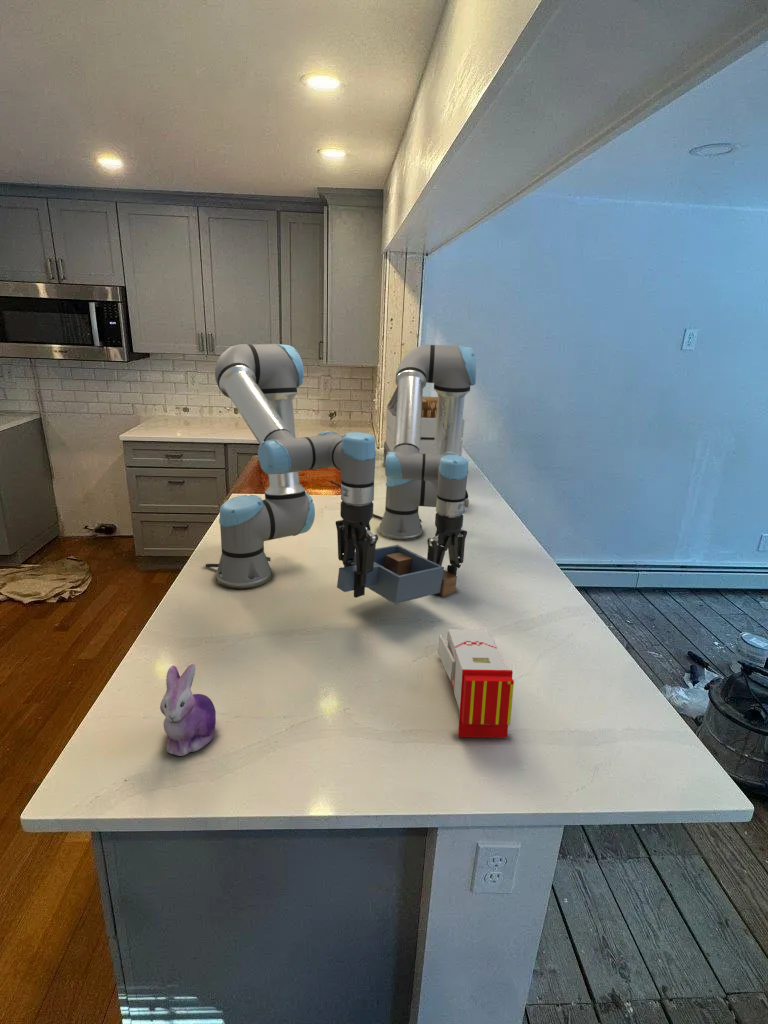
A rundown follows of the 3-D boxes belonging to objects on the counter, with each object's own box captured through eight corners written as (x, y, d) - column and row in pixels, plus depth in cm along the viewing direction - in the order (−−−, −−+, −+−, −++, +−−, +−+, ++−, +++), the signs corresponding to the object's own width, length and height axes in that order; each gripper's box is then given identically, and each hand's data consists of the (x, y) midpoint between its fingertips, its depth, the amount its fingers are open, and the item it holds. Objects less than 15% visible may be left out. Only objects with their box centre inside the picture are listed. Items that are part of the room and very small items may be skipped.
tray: (318, 583, 141) (321, 557, 139) (394, 568, 158) (397, 544, 156) (362, 612, 129) (366, 584, 127) (439, 592, 145) (444, 567, 144)
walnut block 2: (430, 590, 161) (431, 574, 159) (442, 585, 164) (444, 569, 162) (443, 596, 157) (444, 580, 156) (455, 591, 161) (456, 576, 159)
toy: (488, 613, 130) (523, 677, 101) (484, 667, 133) (517, 744, 104) (435, 612, 130) (455, 676, 101) (432, 666, 133) (451, 743, 103)
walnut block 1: (383, 572, 152) (385, 554, 150) (396, 569, 155) (399, 552, 154) (396, 579, 148) (398, 561, 147) (409, 575, 152) (412, 558, 150)
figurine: (168, 766, 96) (159, 693, 91) (160, 728, 104) (152, 659, 99) (224, 749, 100) (219, 678, 95) (212, 714, 109) (207, 646, 103)
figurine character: (468, 516, 224) (463, 500, 237) (471, 498, 221) (465, 483, 234) (452, 515, 224) (447, 499, 237) (453, 498, 220) (449, 482, 234)
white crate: (382, 463, 289) (386, 382, 275) (445, 464, 293) (451, 384, 279) (390, 482, 257) (394, 392, 243) (460, 483, 261) (468, 394, 247)
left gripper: (323, 494, 133) (322, 584, 141) (366, 514, 122) (363, 610, 130) (348, 489, 138) (346, 576, 146) (392, 508, 126) (387, 601, 134)
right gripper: (435, 524, 144) (429, 604, 152) (482, 510, 156) (474, 586, 164) (415, 515, 150) (410, 594, 158) (462, 503, 161) (454, 576, 169)
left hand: (354, 592), depth 138 cm, fingers closed on tray, 3 cm apart
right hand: (442, 590), depth 161 cm, fingers open, 5 cm apart
